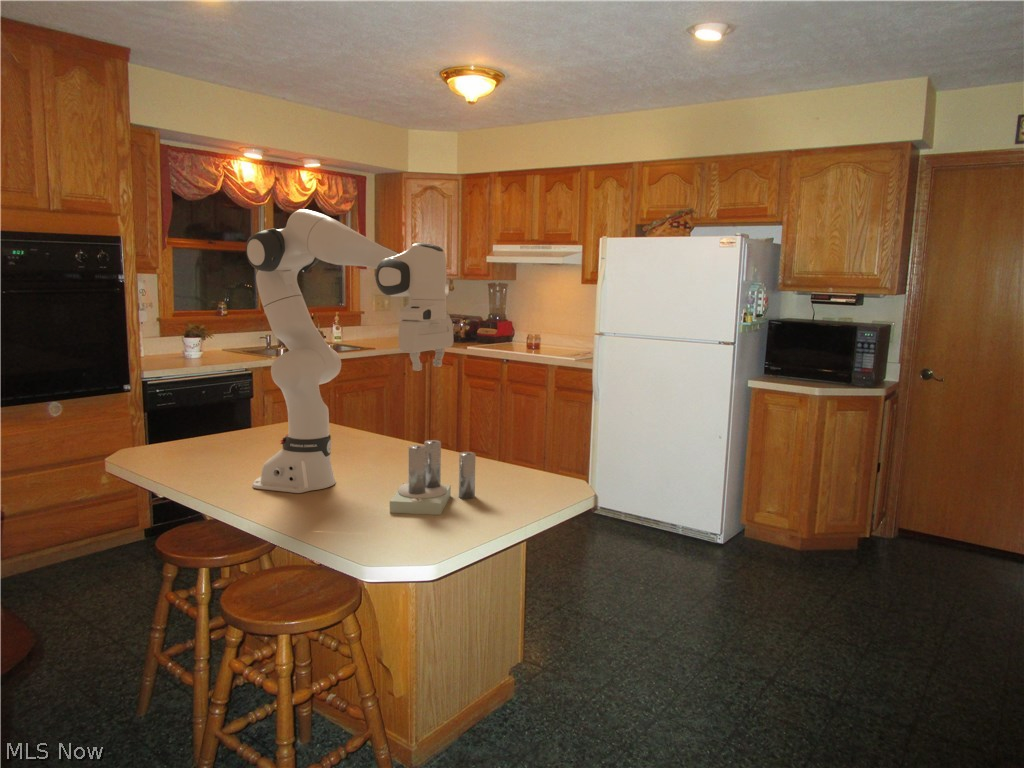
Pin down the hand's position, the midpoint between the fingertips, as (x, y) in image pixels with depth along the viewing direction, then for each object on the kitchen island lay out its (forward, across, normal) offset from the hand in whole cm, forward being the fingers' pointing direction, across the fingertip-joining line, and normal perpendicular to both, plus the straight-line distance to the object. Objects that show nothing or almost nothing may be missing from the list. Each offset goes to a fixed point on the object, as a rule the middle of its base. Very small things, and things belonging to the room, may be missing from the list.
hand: (427, 368), depth 174 cm
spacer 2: (+34, -12, -5) cm, 36 cm away
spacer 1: (+34, -5, -6) cm, 34 cm away
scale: (+37, -6, -6) cm, 38 cm away
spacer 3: (+37, -18, +2) cm, 41 cm away
